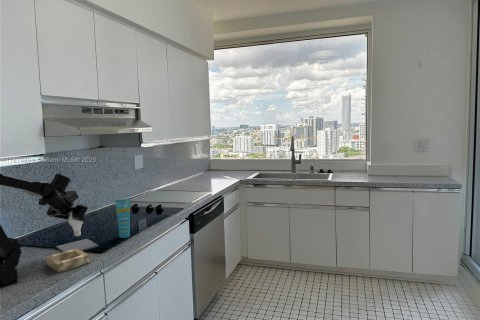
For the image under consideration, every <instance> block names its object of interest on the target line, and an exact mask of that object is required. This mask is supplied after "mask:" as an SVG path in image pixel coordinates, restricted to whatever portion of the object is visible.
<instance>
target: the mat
mask: <svg viewBox="0 0 480 320" xmlns="http://www.w3.org/2000/svg"><path fill="white" fill-rule="evenodd" d="M98 247H99V244H97V243H95V242H93V241H92V240H90V239H88V238H84V239H81V240H76V241H72V242H68V243H65V244H61V245H56V246H55V248H56V249H58V250H59V251H61V252H65V251H68V250H72V249H76V248H77V249H79V250H81V251H83V252H84V251H87V250H90V249H95V248H98Z"/></svg>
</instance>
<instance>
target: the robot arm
mask: <svg viewBox="0 0 480 320" xmlns="http://www.w3.org/2000/svg"><path fill="white" fill-rule="evenodd" d="M71 182H72V180H71V178H69V177H67V176H65V175H63V174H62V173H55V175H54V177H53V179H52V180H51V182H48V181H32V180H31V181H29V180H25V179H21V178H17V177H13V176H9V175H5V174H2V173H0V187H5V188H9V189H15V190H19V191H23V192H24V193H25V194H28V195H31V196H33V197H34V196H35V197H41V198H38V202H37V203H38V206H44V207H45V206H46V205H47V206H49V207H48V209H47V210H46V215H47V216H48V217H49V218H56V219H61V220H67V221H68V219H69V216H70V215H71V214H72V217H73V219H74V220H78V221H83V223H84V222H85V221H86V219H85V215H86V212H87V211H88V209H89V208H88V206H87V204H76V206H74V204H75V203H74V202H75V201H76V200H78V199H79V197H80V196H79V194H78V193H77V191H76V190H67V188H68V187H69V185H70V183H71ZM66 190H67V191H66ZM22 248H23V246H21V245H20V243H19V241H18V239H17V238H13V237H9V236H7V233H6V232H5V230H4V228H3V227H2V225H1V224H0V288H5V287H7V286H11V285H14V284H17V283H18V279H19V277H18V276H19V274H18V269H17V267H18V266H19V262H20V259H21V258H20V257H21V255H22Z"/></svg>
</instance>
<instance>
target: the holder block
mask: <svg viewBox="0 0 480 320" xmlns="http://www.w3.org/2000/svg"><path fill="white" fill-rule="evenodd" d="M88 262H89V263H90V254H88V253H86V252H84V251H81V250H79V249H77V248H76V249H72V250H68V251H65V252H62V251H61V252H59V253H54V254H52V255H47V256H46V265H47V266H48V267H50V268H51V269H53V270H54V271H55V272H57V273H58V274H59V273H63V272H66V271H68V269H69V270H72V269H74V268H73V267H75V268H77V267H76V266H78V267H80V266H79V265H82V264H85V263H88ZM89 263H88V264H89ZM85 265H86V264H85ZM82 266H83V265H82ZM71 268H72V269H71ZM65 270H66V271H65ZM62 271H63V272H62Z"/></svg>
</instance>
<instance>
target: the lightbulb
mask: <svg viewBox="0 0 480 320" xmlns="http://www.w3.org/2000/svg"><path fill="white" fill-rule="evenodd" d="M67 222H68V224H69V225H70V226H71V227H72V230H73V237H74V236H75V237H76V238H77V237H80V236H81V233H82V232H81V228H82V225H83V223H84V222H83V221H78V220H74V219H73V217H72V213H70V216H69V219H68V220H67Z"/></svg>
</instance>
